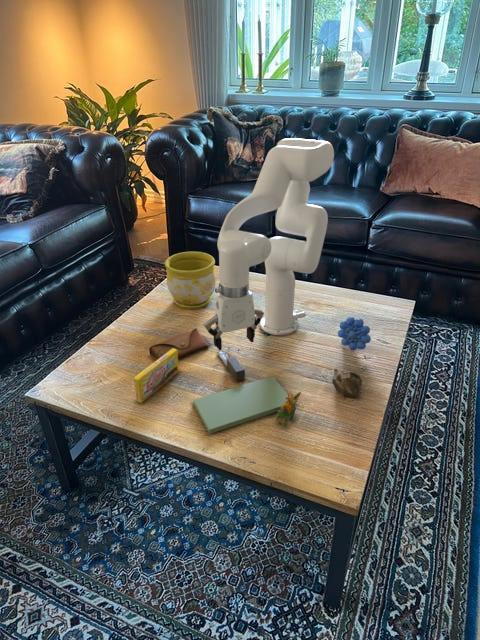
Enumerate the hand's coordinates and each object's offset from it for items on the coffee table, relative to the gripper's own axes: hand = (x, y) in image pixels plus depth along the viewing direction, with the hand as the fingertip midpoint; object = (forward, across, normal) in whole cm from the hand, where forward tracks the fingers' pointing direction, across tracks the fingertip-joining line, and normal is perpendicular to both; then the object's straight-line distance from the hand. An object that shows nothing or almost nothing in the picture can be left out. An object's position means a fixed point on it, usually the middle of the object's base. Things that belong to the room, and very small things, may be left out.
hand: (234, 343), depth 123 cm
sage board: (+11, -3, -13) cm, 17 cm away
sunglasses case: (+11, -10, +18) cm, 24 cm away
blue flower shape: (+11, +40, -4) cm, 41 cm away
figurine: (+11, +6, -22) cm, 25 cm away
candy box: (+12, -21, +4) cm, 25 cm away
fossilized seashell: (+11, +26, -19) cm, 34 cm away
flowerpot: (+11, +4, +47) cm, 49 cm away
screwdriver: (+11, +1, +5) cm, 12 cm away
